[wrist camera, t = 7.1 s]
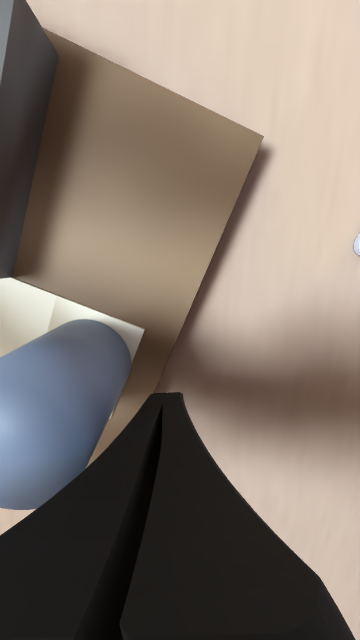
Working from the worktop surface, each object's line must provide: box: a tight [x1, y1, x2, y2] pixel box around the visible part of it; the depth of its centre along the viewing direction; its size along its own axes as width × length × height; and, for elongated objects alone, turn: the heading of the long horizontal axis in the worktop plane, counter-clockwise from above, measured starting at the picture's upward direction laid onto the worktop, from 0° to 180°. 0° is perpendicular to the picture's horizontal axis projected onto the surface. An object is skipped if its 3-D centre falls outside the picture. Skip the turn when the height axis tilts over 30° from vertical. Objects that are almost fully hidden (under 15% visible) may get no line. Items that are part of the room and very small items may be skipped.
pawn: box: [0, 319, 131, 510], centre depth 8 cm, size 4×4×5 cm
